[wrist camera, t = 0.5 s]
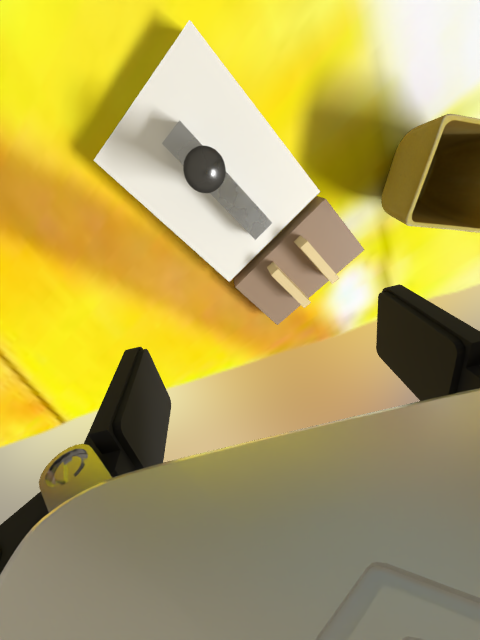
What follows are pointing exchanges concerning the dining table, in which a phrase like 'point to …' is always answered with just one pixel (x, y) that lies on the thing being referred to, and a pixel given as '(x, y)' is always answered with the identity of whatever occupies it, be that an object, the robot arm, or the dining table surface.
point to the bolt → (214, 179)
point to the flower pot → (437, 175)
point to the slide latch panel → (243, 167)
